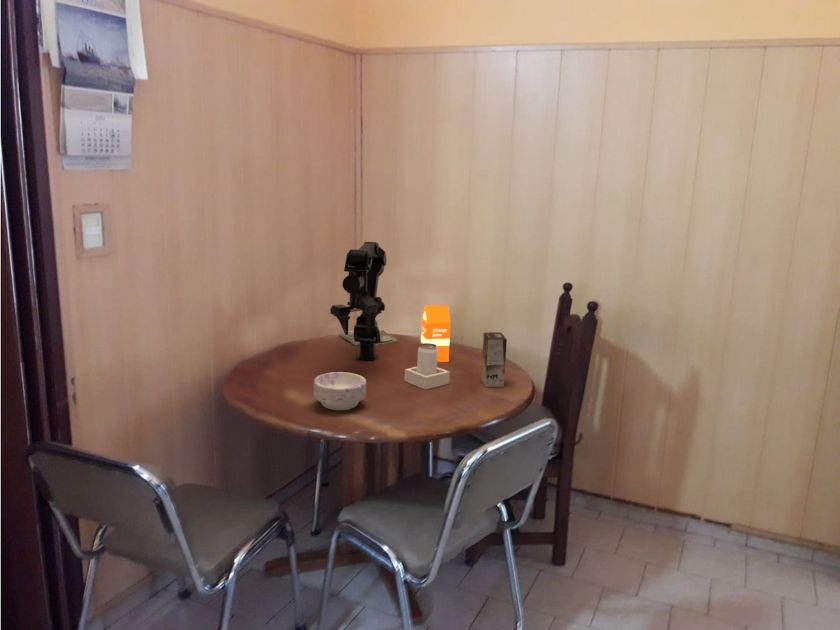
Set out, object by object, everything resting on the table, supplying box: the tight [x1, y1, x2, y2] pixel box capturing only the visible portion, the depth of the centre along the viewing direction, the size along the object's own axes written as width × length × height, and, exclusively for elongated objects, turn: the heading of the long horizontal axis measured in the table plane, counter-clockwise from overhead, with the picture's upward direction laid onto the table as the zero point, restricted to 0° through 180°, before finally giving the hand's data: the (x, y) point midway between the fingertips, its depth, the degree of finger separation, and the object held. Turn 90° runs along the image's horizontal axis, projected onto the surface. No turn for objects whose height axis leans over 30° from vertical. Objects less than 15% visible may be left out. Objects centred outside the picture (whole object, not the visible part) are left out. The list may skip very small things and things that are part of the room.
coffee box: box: [480, 331, 508, 388], centre depth 224 cm, size 9×6×16 cm
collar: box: [404, 366, 451, 390], centre depth 224 cm, size 10×10×4 cm
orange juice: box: [420, 304, 451, 363], centre depth 248 cm, size 8×9×20 cm
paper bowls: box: [313, 371, 367, 412], centre depth 200 cm, size 15×15×8 cm
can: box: [416, 343, 438, 376], centre depth 223 cm, size 6×6×12 cm
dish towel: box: [338, 329, 398, 348], centre depth 273 cm, size 19×18×3 cm
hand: (357, 333), depth 231 cm, fingers open, 9 cm apart
